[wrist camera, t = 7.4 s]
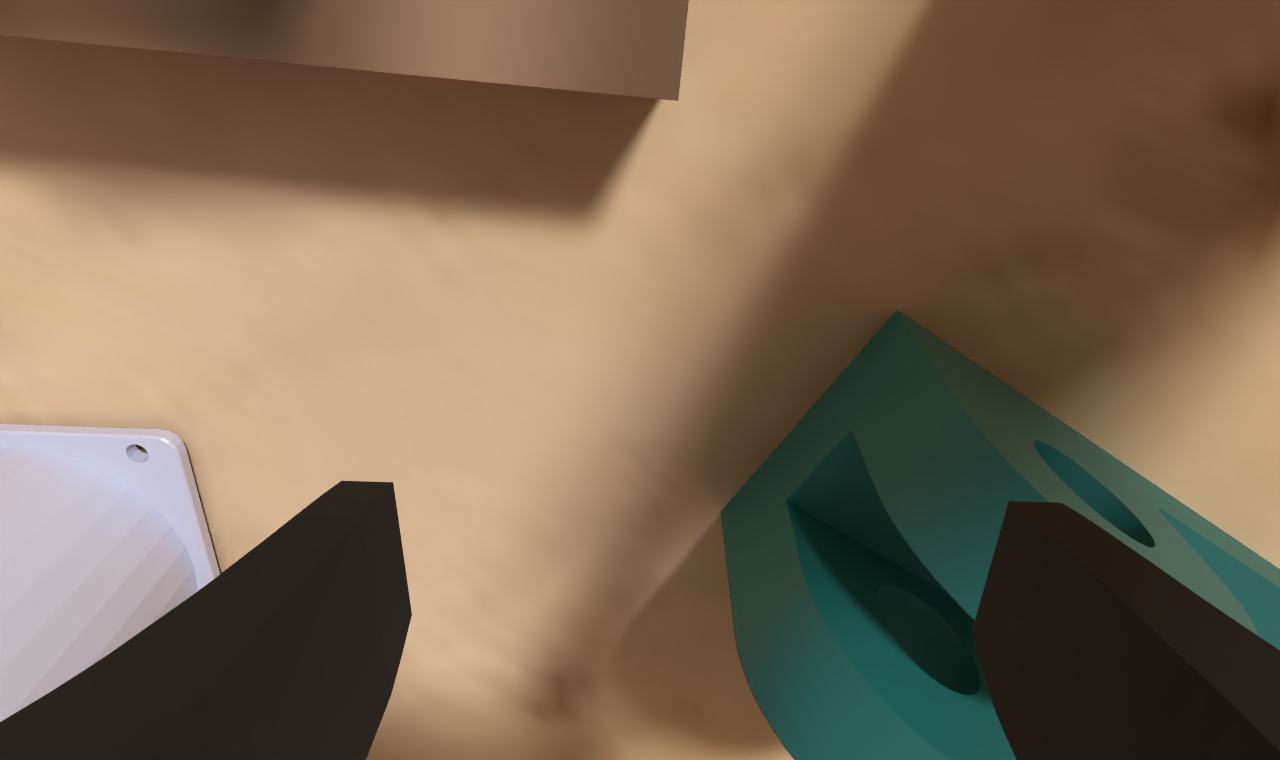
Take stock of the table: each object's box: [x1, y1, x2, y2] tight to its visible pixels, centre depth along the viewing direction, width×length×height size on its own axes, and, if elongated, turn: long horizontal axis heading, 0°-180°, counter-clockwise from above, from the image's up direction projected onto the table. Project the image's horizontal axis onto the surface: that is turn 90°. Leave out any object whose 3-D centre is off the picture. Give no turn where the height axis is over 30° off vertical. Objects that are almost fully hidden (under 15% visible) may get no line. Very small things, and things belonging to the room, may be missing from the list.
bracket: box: [721, 310, 1280, 760], centre depth 19 cm, size 18×7×8 cm, turn 57°
